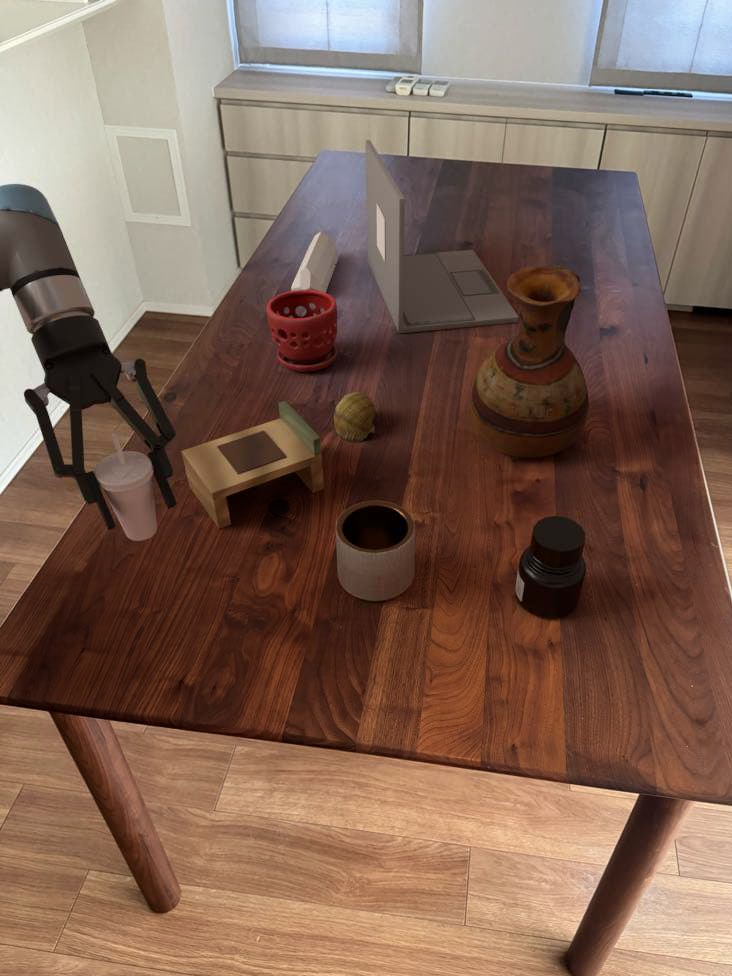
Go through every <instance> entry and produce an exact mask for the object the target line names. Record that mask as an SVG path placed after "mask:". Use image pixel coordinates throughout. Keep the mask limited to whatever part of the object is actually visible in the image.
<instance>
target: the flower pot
mask: <svg viewBox="0 0 732 976" xmlns="http://www.w3.org/2000/svg"><path fill="white" fill-rule="evenodd" d="M310 304H313V305H314V306H315V307H314V308H312V307H311V305H310ZM337 305H338V304H337V301H336V299H335V297H333V296H332V295H331V294H328V293H327V292H326V293H324V292H320V291H315V290H296V291H291V290H289V291H287V292H283V293H280V294H278V295H276V296H274V297H272V299H270V300H269V301H268V302H267V304H266V307H265V309H266V316H267V322H268V325H269V326H268V327H269V331H270V335H271V338H272V340H273V342H274V345H275V346H276V348H277V353H276V356H277V360H278V361H279V363H280V364H281V365H282V366H283V367H285V368H287V369H289V370H290V371H291V370H292V371H296V372H301V373H303V372H305V373H308V372H316V371H319V370H322V369H324V368H327V367H328V366H330V365H331V364H332V363H333V362H334V361H335V359H336V357H337V355H338V349H337V346H336V345H335V342H336V338H337V334H338V307H337ZM298 307H302V308H304V309H305V311H306V312H305V314H304V315H298V314H297V312H296V310H297V308H298ZM286 308H288V311H287V312H286V313H285V309H286ZM321 309H323V310H324V312H321ZM314 314H315V315H314Z"/></svg>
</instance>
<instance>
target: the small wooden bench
mask: <svg viewBox="0 0 732 976" xmlns="http://www.w3.org/2000/svg"><path fill="white" fill-rule="evenodd" d="M278 411H279V418H276V419H274V420H271V421H267V422H265V423H262V424H259V425H256V426H252V427H250V428H247V429H243V430H240V431H238V432H234V433H231V434H228V435H226V436H222V437H220V438H217V439H213V440H210V441H207V442H204V443H201V444H198V445H195V446H192V447H189V448H185V449H183V450H181V455H182V460H183V464H184V469H185V473H186V478H187V482H188V487H189V488H190V490H191V491H192V492H193V494H194V495H195V496H196V498H197V499H198V501H199V503H200V504H201V505H202V506H203V508H204V510H205V511H206V512H207V514H208V515H209V517H210V518H211V519H212V521H213V523H214V524H215V525H216V527H217V528H218V529H219V530H220V529H222V528H224V527H225V528H226V527H227V526H231V525H232V522H231V516H230V510H229V505H228V500H227V499H228V498H227V497H228V496H230V495H234V494H237V493H239V492H242V491H245V490H247V489H250V488H253V487H256V486H259V485H261V484H263V483H266V482H269V481H272V480H275V479H277V478H281V477H283V476H286V475H289V474H291V473H294V472H295V474H296V475H297V476H298V477H299V478H300V479H301V481H302V482H303V483H304V484H305V485H306V487H307V488H308V489H309V490H310V491H311V492H312V493H313V494H314V493H317V492H319V491H323V490H324V489H325V483H324V482H325V481H324V469H323V456H322V440H321V437H320V436H319V435H318V434H317V432H315V431H314V430H313V428H312V427H311V426H309V424H308V423H307V422H306V421H305V420H304V419H303V418H302V417H301V416H300V415H299V414H298V413H297V411H295V409H294V408H293V407H292V406H291V405H290V404H289V403H288V402H287V401H286V400H283V401H280V402H279V401H278Z"/></svg>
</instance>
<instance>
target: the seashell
mask: <svg viewBox="0 0 732 976" xmlns="http://www.w3.org/2000/svg"><path fill="white" fill-rule="evenodd" d="M375 415H376V407H375V404H374V401H373V400H372V399H371V398H370V396H368V394H366V393H364V392H361V391H354V392H351V393H348V394H344V395H343V397H342V398H341V400H340V401H339V402H338V403H337V405H336V407H335V409H334V413H333V424H334V430H335V433H336V434H337V435H338V436H339V437H340V438H342V439H344V440H345V441H348V442H353V443H354V442H357V443H359V442H362V441H364V439H366V438H367V437H368V435H369V434H370V433H371V434H372V435H375V433H376V431H375V430H376V425H374V424H373V419H374V417H375Z"/></svg>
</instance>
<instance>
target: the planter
mask: <svg viewBox="0 0 732 976" xmlns="http://www.w3.org/2000/svg"><path fill="white" fill-rule="evenodd" d="M334 529H335V545H336V546H335V549H336V571H337V572H336V573H337V577H338V580H339V584H340V585H341V587H342V589H344V591H346V592H347V593H348V594H350V595H351V596H353V597H355V598H357V599H360V600H364V601H369V602H382V601H388V600H391V599H394V598H396V597H399V596H401V595H402V594H404V593H406V591H407V590H408V589H409V588H410V586H411V585H412V583H413V580H414V577H415V570H416V569H415V567H416V566H415V565H416V564H415V563H416V562H415V561H416V560H415V559H416V558H415V557H416V556H415V555H416V554H415V553H416V552H415V551H416V547H415V546H416V543H415V542H416V524H415V520H414V517H413V516H412V515H411V514H410V512H409V511H408V510H407V509H405V508H403V507H402V506H400V505H399V504H396V503H393V502H390V501H385V500H367V501H362V502H359V503H355V504H353V505H351V506H349V507H348V508H346V509H345V510H344V511H342V512H341V514H339V516H338V518H337V519H336V522H335V528H334Z"/></svg>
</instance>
